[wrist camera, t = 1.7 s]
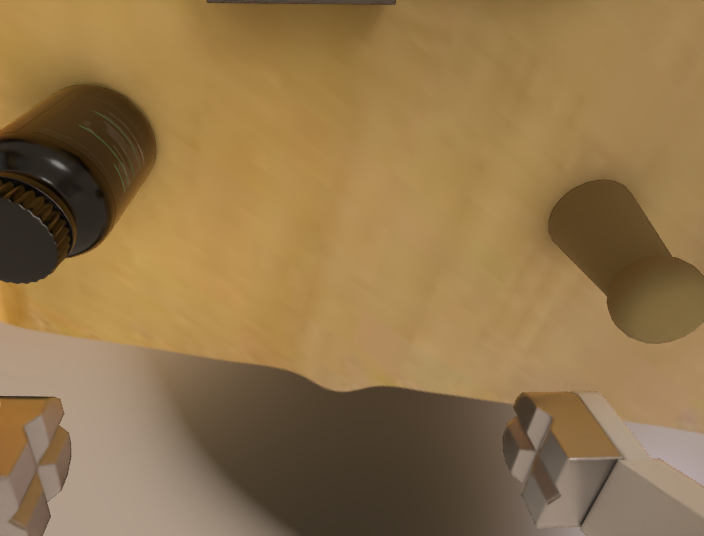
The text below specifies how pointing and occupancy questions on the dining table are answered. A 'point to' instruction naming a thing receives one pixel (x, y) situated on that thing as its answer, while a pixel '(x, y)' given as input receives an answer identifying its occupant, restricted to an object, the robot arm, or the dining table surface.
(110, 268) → the dining table surface
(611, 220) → the brown pawn
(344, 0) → the clock face plate
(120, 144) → the supplement bottle
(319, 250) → the dining table surface
